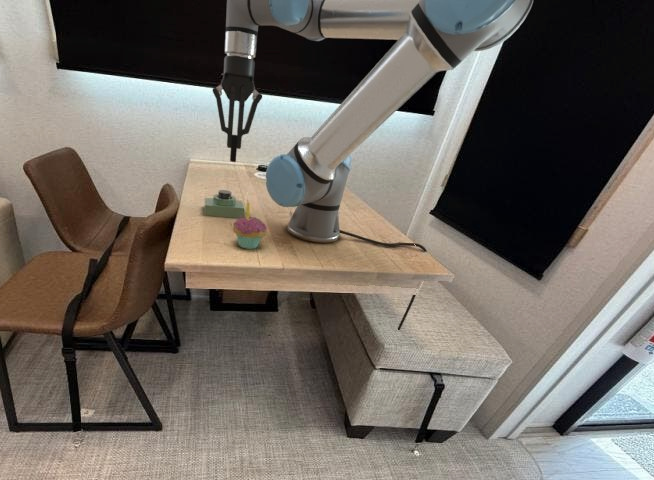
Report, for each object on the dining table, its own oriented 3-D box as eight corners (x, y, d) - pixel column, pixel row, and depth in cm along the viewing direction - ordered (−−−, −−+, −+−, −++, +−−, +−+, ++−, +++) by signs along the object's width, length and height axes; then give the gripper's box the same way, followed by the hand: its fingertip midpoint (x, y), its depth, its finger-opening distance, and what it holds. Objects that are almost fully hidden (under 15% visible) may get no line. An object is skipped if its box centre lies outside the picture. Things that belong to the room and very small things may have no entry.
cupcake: (250, 254, 79) (256, 205, 73) (224, 243, 83) (227, 196, 77) (270, 246, 85) (277, 200, 79) (245, 236, 89) (250, 191, 83)
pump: (230, 197, 104) (231, 190, 103) (231, 200, 100) (231, 194, 99) (217, 196, 103) (218, 189, 102) (218, 199, 100) (218, 192, 99)
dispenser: (241, 210, 108) (242, 195, 106) (243, 218, 102) (245, 202, 99) (204, 207, 106) (205, 191, 104) (204, 215, 100) (205, 198, 97)
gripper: (264, 62, 83) (254, 161, 96) (212, 54, 81) (209, 156, 94) (268, 59, 77) (257, 165, 89) (212, 51, 75) (209, 161, 87)
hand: (232, 160), depth 92 cm, fingers closed
